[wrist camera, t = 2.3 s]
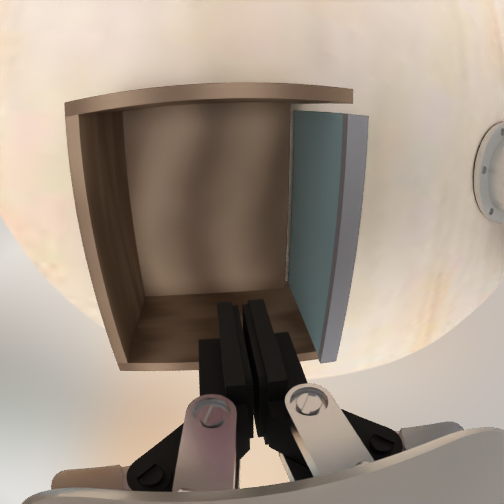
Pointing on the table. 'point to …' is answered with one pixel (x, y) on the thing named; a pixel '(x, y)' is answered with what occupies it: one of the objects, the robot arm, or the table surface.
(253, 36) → the table surface
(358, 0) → the table surface
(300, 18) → the table surface
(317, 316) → the light blue panel
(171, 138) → the box
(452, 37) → the table surface
